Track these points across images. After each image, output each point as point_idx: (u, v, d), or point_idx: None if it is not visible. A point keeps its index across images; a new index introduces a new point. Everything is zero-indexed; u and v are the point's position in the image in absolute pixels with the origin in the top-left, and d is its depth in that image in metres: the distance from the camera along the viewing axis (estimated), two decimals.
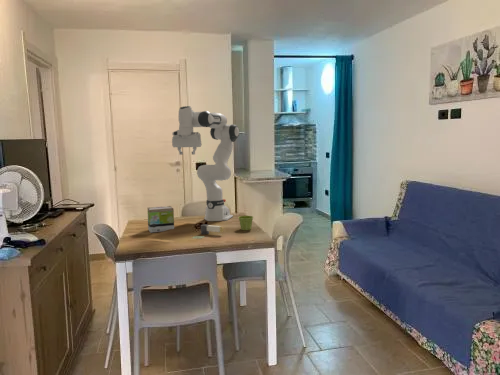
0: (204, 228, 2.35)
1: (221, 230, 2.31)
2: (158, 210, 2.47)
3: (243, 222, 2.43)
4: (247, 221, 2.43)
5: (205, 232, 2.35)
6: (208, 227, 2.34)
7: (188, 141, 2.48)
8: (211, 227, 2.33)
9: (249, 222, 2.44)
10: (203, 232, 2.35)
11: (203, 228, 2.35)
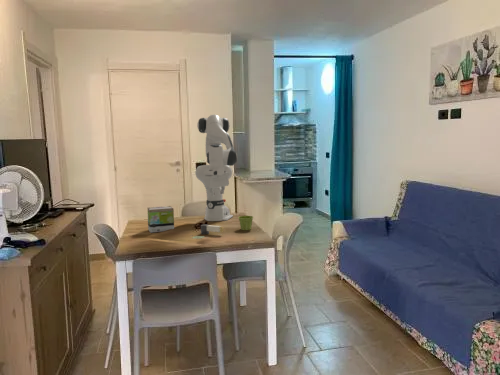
0: (204, 228, 2.35)
1: (221, 230, 2.31)
2: (158, 210, 2.47)
3: (243, 222, 2.43)
4: (247, 221, 2.43)
5: (205, 232, 2.35)
6: (208, 227, 2.34)
7: (222, 180, 2.39)
8: (211, 227, 2.33)
9: (249, 222, 2.44)
10: (203, 232, 2.35)
11: (203, 228, 2.35)
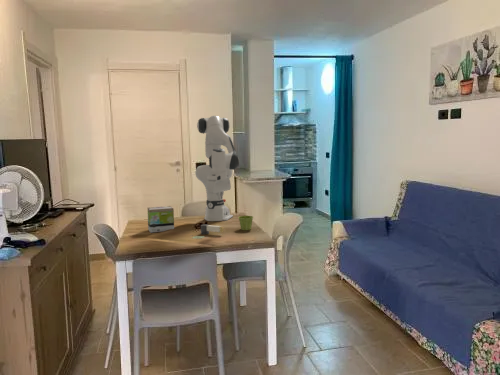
0: (204, 228, 2.35)
1: (221, 230, 2.31)
2: (158, 210, 2.47)
3: (243, 222, 2.43)
4: (247, 221, 2.43)
5: (205, 232, 2.35)
6: (208, 227, 2.34)
7: (224, 185, 2.39)
8: (211, 227, 2.33)
9: (249, 222, 2.44)
10: (203, 232, 2.35)
11: (203, 228, 2.35)
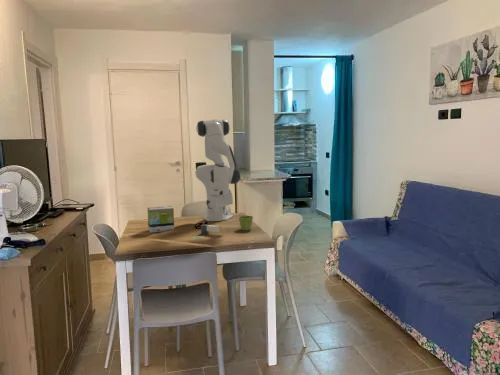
0: (204, 228, 2.35)
1: (221, 230, 2.31)
2: (158, 210, 2.47)
3: (243, 222, 2.43)
4: (247, 221, 2.43)
5: (205, 232, 2.35)
6: (208, 227, 2.34)
7: (226, 199, 2.38)
8: (211, 227, 2.33)
9: (249, 222, 2.44)
10: (203, 232, 2.35)
11: (203, 228, 2.35)
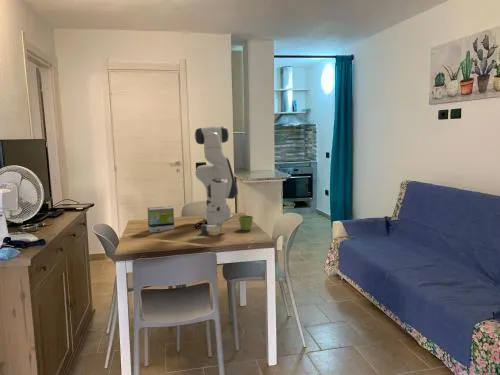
0: (204, 228, 2.35)
1: (221, 230, 2.31)
2: (158, 210, 2.47)
3: (243, 222, 2.43)
4: (247, 221, 2.43)
5: (205, 232, 2.35)
6: (208, 227, 2.34)
7: (224, 215, 2.36)
8: (211, 227, 2.33)
9: (249, 222, 2.44)
10: (203, 232, 2.35)
11: (203, 228, 2.35)
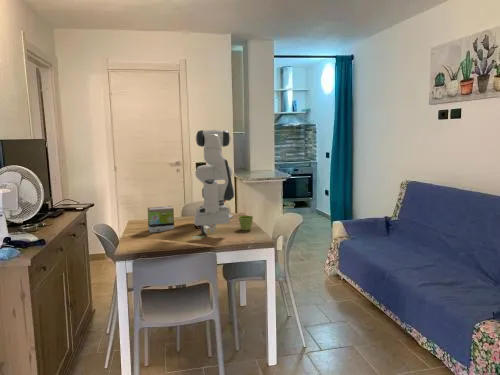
0: (201, 227, 2.35)
1: (208, 232, 2.26)
2: (158, 210, 2.47)
3: (243, 222, 2.43)
4: (247, 221, 2.43)
5: (202, 232, 2.35)
6: (203, 227, 2.33)
7: (217, 217, 2.28)
8: (204, 228, 2.31)
9: (249, 222, 2.44)
10: (201, 232, 2.36)
11: (201, 228, 2.36)
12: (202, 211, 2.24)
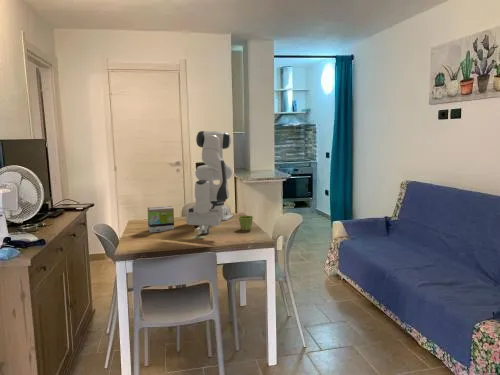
0: None
1: None
2: (158, 210, 2.47)
3: (243, 222, 2.43)
4: (247, 221, 2.43)
5: None
6: None
7: (206, 219, 2.25)
8: None
9: (249, 222, 2.44)
10: None
11: None
12: (191, 211, 2.25)
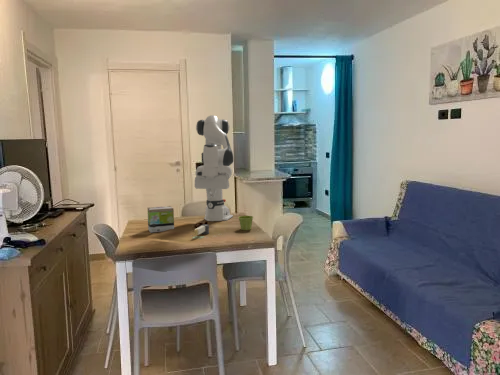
0: None
1: None
2: (158, 210, 2.47)
3: (243, 222, 2.43)
4: (247, 221, 2.43)
5: None
6: None
7: (214, 182, 2.25)
8: None
9: (249, 222, 2.44)
10: None
11: None
12: (199, 174, 2.26)
